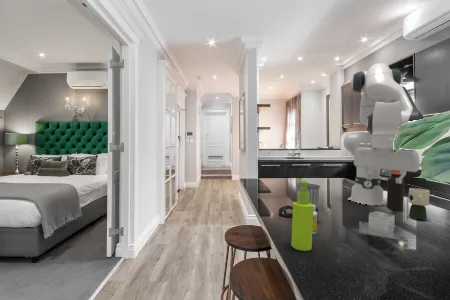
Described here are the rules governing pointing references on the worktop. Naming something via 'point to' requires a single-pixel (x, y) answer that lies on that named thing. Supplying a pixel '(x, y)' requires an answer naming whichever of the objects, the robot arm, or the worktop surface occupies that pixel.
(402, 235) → the plate
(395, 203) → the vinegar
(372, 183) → the robot arm
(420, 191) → the character mug
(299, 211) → the soap dispenser
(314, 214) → the supplement bottle
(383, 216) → the chalk-like cube
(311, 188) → the milk frother
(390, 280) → the worktop surface
